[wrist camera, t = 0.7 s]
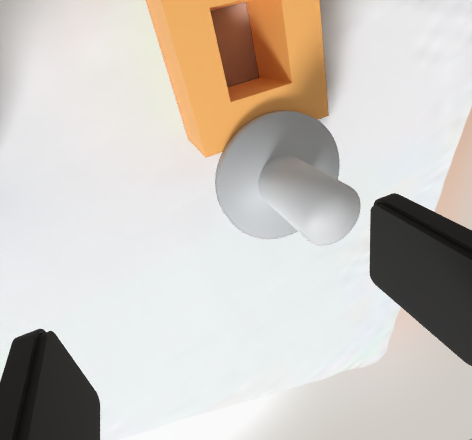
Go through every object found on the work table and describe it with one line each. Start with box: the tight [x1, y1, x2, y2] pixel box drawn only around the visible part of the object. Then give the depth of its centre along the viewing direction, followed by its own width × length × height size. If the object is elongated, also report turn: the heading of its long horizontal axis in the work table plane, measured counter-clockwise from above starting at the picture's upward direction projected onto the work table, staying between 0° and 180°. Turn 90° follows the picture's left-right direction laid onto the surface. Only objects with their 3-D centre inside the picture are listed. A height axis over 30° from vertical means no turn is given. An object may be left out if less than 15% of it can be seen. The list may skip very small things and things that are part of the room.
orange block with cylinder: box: [146, 0, 360, 246], centre depth 27 cm, size 24×12×16 cm, turn 13°
